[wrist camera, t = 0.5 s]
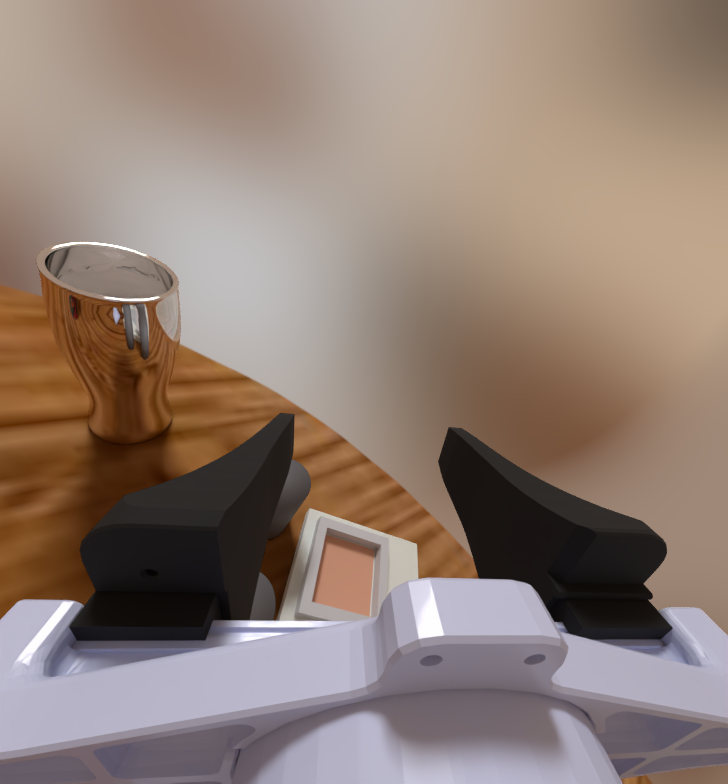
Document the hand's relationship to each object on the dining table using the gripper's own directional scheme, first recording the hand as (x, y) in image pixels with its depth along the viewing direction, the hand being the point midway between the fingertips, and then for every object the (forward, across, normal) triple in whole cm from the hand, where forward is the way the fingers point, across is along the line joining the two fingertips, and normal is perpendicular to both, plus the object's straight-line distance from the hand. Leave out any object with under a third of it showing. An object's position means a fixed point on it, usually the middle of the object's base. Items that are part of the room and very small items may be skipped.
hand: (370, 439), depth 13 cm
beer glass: (+13, +21, +9) cm, 26 cm away
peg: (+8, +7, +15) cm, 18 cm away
